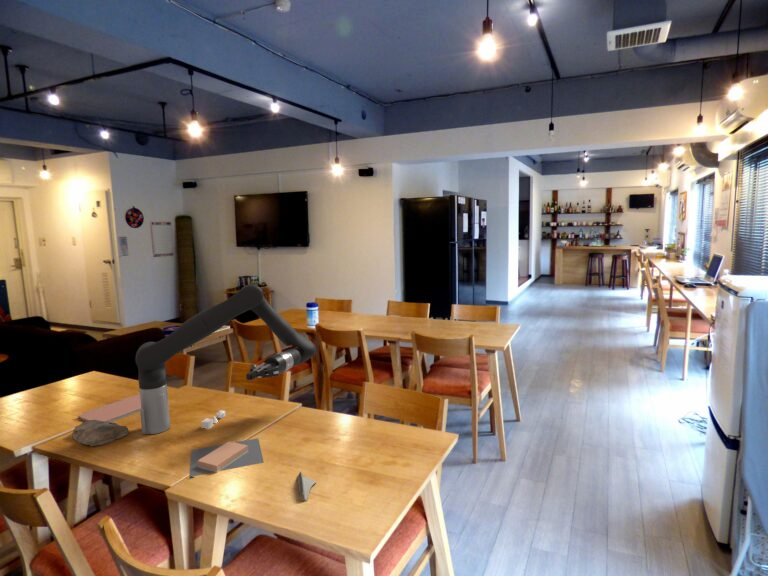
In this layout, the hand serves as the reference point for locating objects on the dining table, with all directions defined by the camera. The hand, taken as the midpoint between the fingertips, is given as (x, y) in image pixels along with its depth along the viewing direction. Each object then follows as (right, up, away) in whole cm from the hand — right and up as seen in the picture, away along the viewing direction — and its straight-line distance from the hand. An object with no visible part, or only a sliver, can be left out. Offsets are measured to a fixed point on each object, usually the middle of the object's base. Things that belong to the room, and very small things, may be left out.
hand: (248, 377), depth 158 cm
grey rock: (-59, -24, +11) cm, 65 cm away
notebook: (-63, -21, +34) cm, 75 cm away
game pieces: (-19, -22, +20) cm, 36 cm away
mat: (-5, -25, -7) cm, 27 cm away
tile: (-2, -23, -3) cm, 23 cm away
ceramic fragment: (+23, -28, -25) cm, 44 cm away
